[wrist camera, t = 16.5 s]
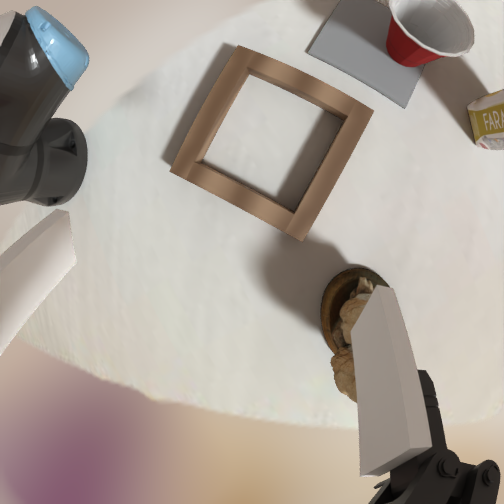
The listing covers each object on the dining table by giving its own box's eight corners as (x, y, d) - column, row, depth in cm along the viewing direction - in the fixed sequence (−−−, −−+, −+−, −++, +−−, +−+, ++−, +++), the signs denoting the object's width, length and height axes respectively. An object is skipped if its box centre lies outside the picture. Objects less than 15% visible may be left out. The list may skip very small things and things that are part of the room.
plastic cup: (354, 25, 30) (372, -21, 19) (415, 18, 28) (444, -19, 17) (386, 89, 32) (420, 58, 21) (446, 79, 30) (489, 54, 18)
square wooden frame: (177, 171, 39) (169, 171, 36) (241, 53, 34) (238, 45, 31) (301, 237, 39) (302, 242, 36) (368, 115, 34) (374, 110, 31)
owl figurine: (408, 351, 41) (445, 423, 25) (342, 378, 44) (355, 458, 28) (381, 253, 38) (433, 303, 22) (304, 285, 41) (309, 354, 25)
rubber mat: (307, 53, 33) (307, 52, 32) (348, -11, 29) (348, -12, 28) (404, 108, 33) (405, 108, 32) (434, 39, 29) (436, 38, 28)
